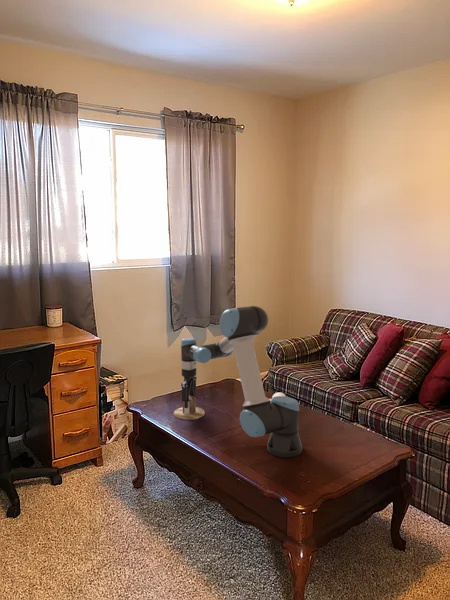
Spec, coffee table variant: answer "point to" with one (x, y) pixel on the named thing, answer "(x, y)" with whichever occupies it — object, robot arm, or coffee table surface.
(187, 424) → the coffee table surface
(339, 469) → the coffee table surface
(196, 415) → the plate
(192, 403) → the block
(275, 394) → the mug
